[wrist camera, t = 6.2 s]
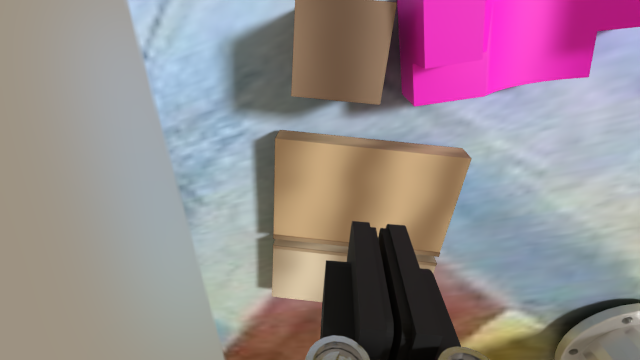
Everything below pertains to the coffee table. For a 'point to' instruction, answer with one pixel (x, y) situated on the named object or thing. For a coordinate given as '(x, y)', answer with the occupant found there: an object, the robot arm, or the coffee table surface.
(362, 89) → the walnut block
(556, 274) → the coffee table surface
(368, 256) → the robot arm
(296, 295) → the laid board
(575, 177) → the coffee table surface
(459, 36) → the toy block
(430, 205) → the plank
